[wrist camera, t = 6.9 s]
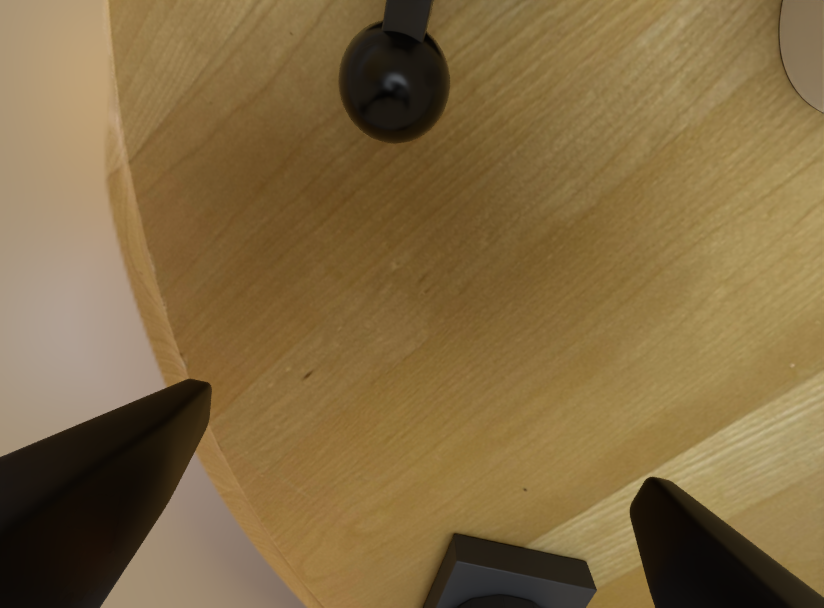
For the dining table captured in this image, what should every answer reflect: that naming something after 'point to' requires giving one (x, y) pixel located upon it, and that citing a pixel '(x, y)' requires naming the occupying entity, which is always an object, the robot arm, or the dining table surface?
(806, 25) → the mug
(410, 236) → the dining table surface
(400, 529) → the dining table surface
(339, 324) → the dining table surface
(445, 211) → the dining table surface
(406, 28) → the lever
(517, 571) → the button box
